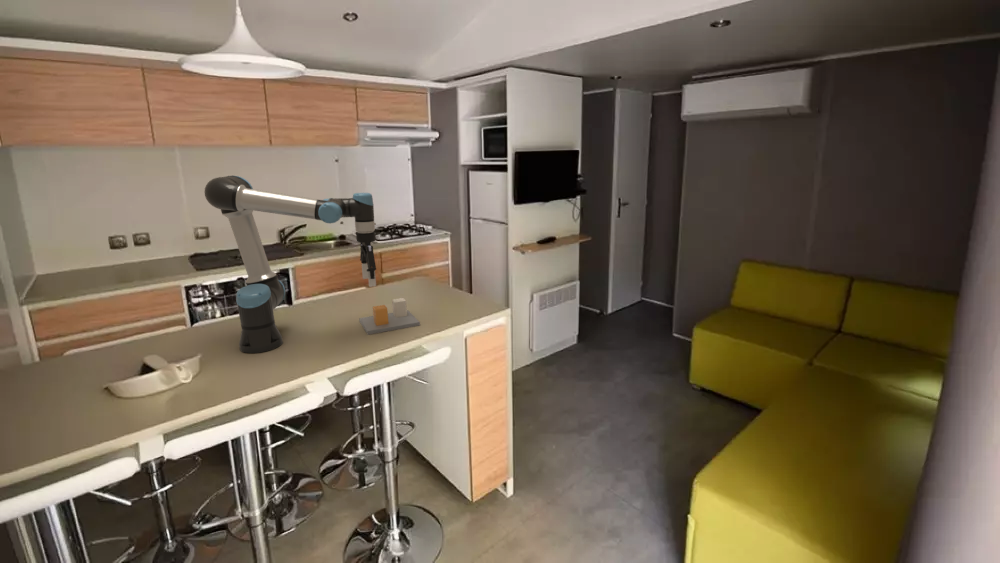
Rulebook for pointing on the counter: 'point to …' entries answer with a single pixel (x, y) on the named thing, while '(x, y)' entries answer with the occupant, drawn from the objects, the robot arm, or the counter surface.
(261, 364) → the counter surface
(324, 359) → the counter surface
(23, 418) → the counter surface
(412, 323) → the plate
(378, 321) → the orange rectangular block
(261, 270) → the robot arm
